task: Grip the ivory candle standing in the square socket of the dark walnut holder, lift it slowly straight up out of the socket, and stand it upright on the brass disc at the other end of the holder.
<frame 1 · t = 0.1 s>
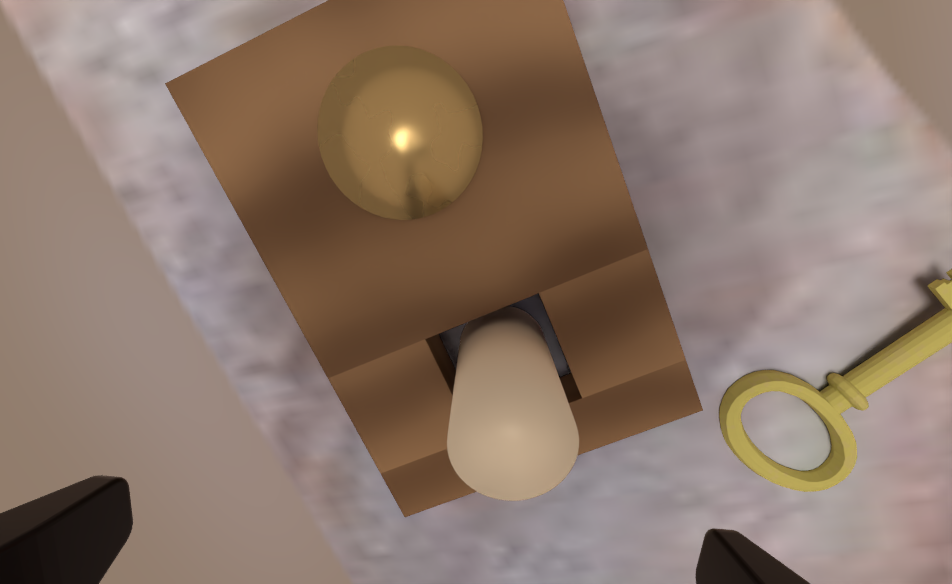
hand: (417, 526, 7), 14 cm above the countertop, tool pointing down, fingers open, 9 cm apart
brass disc: (400, 136, 17), resting on walnut holder
key: (827, 379, 23), on the countertop
walnut holder: (459, 249, 21), on the countertop
ivory candle: (502, 346, 22), resting in walnut holder
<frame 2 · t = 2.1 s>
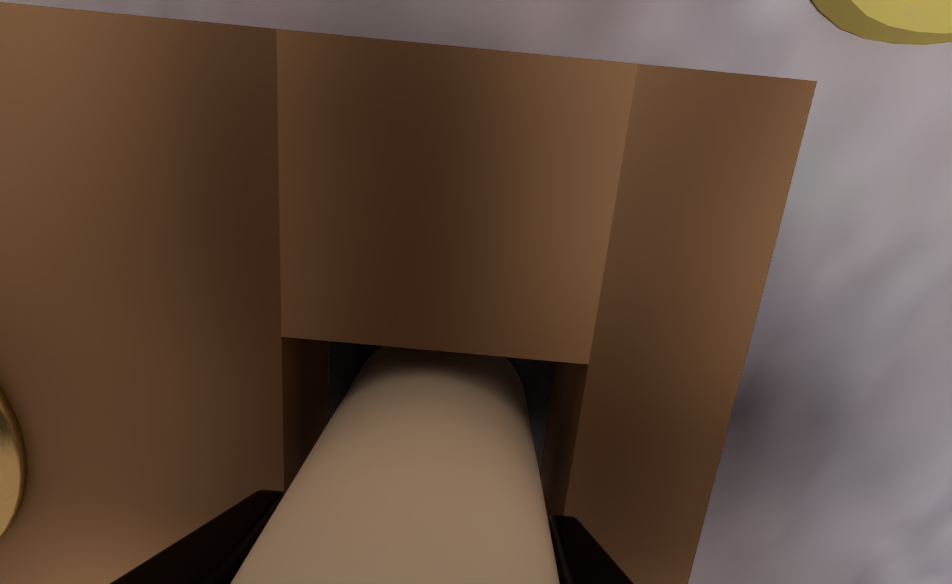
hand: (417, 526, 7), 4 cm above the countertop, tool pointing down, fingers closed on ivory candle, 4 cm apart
walnut holder: (218, 391, 11), on the countertop
ivory candle: (438, 410, 11), resting in walnut holder, touching gripper
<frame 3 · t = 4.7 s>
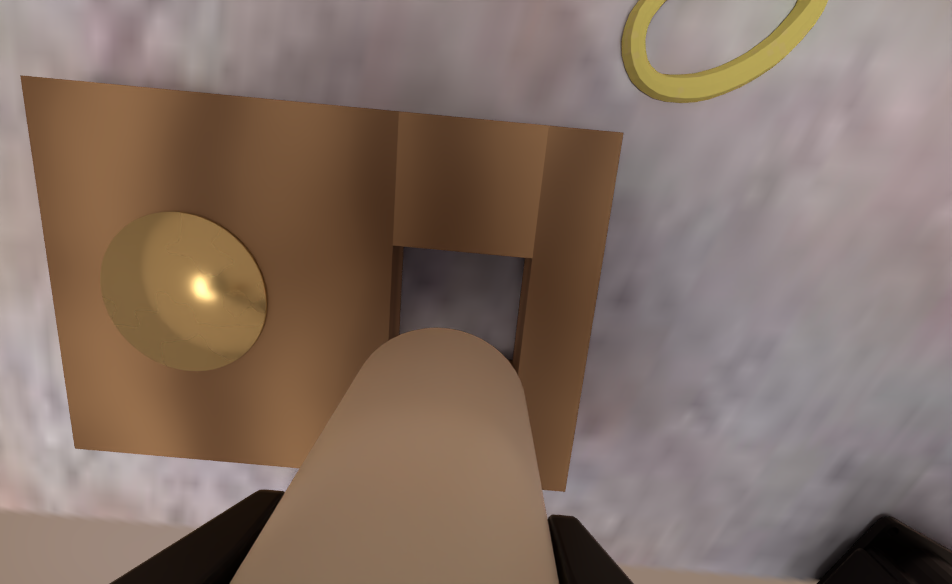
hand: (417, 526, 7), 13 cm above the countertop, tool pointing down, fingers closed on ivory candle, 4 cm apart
brass disc: (186, 293, 17), resting on walnut holder
walnut holder: (341, 289, 20), on the countertop
ivory candle: (438, 410, 11), point 9 cm above the countertop, touching gripper
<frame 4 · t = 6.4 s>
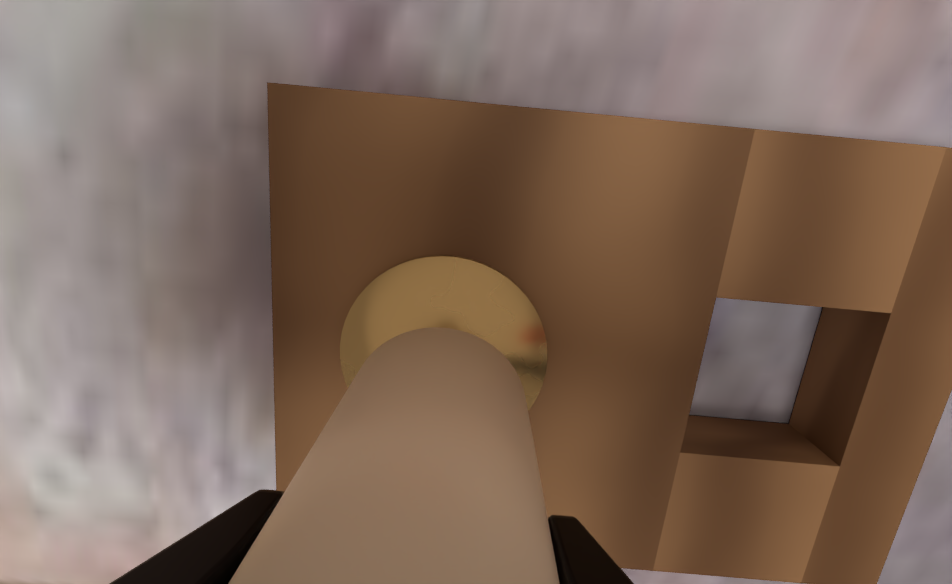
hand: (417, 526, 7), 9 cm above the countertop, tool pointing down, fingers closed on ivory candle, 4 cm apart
brass disc: (444, 356, 14), resting on walnut holder
walnut holder: (593, 340, 16), on the countertop
ivory candle: (438, 410, 11), point 6 cm above the countertop, touching gripper
when the fingers open (7 cm above the countertop, at t = 7.5 s): ivory candle stays where it is, resting on brass disc.
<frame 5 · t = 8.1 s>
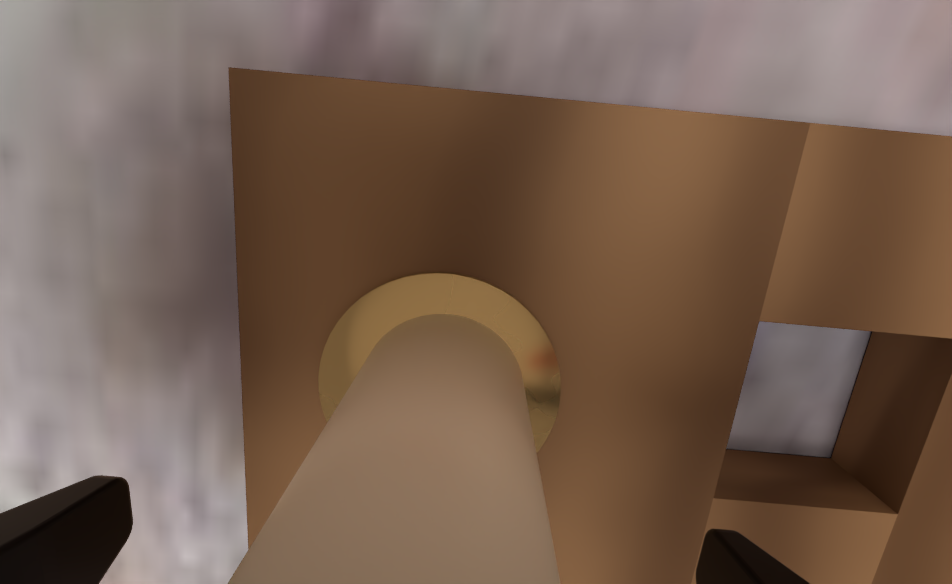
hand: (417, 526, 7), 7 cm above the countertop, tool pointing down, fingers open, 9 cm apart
brass disc: (440, 388, 12), resting on walnut holder
walnut holder: (610, 365, 14), on the countertop
ivory candle: (442, 390, 12), point 3 cm above the countertop, touching brass disc
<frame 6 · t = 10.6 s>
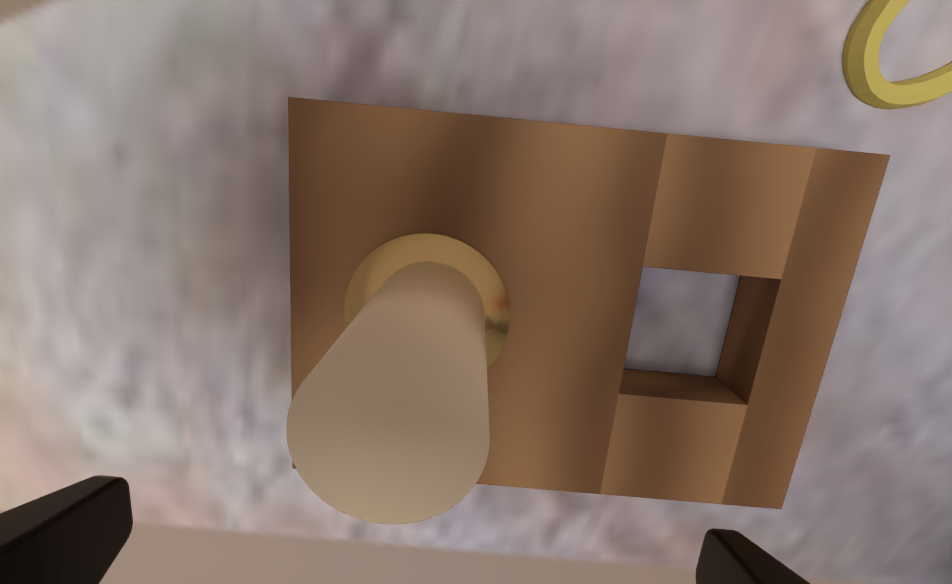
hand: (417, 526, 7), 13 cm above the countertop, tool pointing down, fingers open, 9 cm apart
brass disc: (427, 314, 17), resting on walnut holder
walnut holder: (552, 306, 20), on the countertop
ivory candle: (429, 315, 17), point 3 cm above the countertop, touching brass disc
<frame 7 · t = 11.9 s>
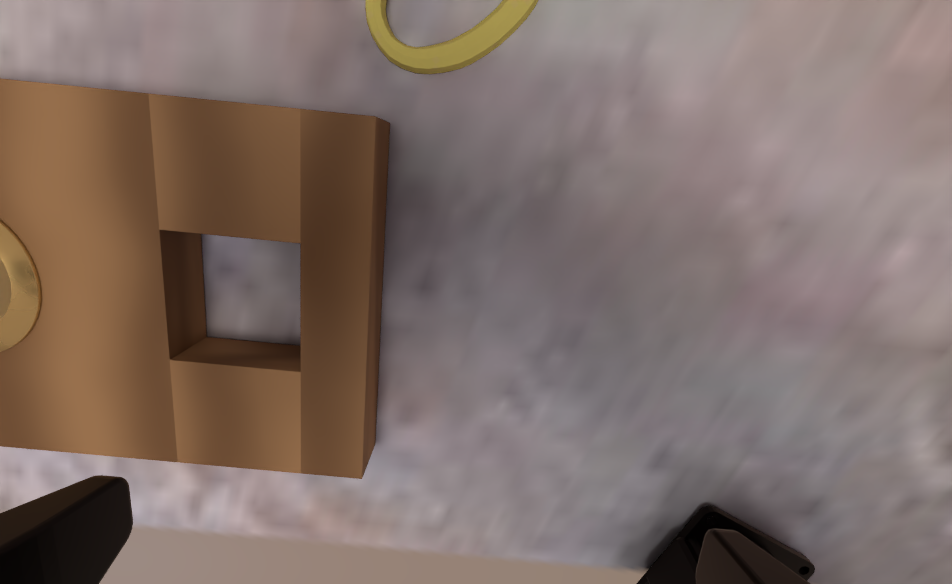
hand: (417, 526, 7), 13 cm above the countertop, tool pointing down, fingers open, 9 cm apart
walnut holder: (143, 275, 20), on the countertop
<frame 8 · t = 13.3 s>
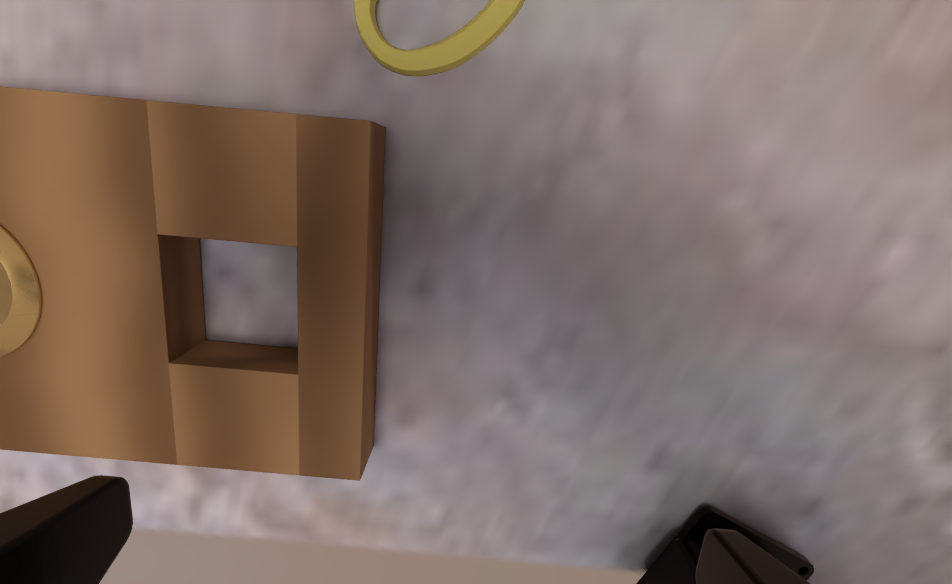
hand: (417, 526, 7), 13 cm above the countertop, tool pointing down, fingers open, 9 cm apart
walnut holder: (143, 279, 20), on the countertop
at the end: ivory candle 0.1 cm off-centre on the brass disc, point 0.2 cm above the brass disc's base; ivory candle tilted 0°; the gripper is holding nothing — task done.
